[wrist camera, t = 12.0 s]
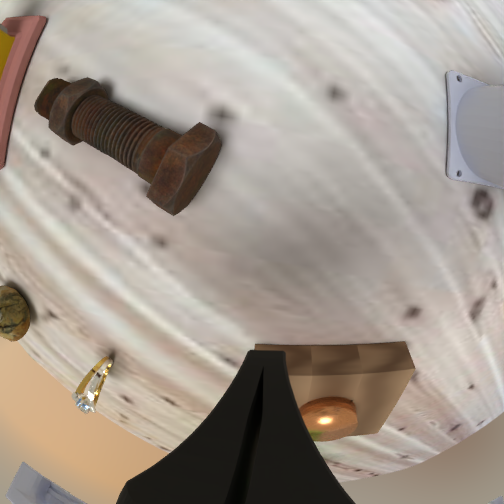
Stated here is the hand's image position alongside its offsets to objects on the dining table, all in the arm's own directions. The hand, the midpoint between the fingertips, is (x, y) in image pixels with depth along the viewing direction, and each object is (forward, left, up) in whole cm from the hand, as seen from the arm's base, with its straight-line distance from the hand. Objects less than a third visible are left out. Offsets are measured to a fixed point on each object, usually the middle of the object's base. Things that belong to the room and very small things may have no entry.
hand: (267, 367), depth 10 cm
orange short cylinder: (-5, +15, -10) cm, 19 cm away
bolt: (+11, -10, -11) cm, 18 cm away
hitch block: (-5, +15, -10) cm, 19 cm away
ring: (+20, +15, -11) cm, 27 cm away
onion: (+35, +8, -11) cm, 38 cm away
